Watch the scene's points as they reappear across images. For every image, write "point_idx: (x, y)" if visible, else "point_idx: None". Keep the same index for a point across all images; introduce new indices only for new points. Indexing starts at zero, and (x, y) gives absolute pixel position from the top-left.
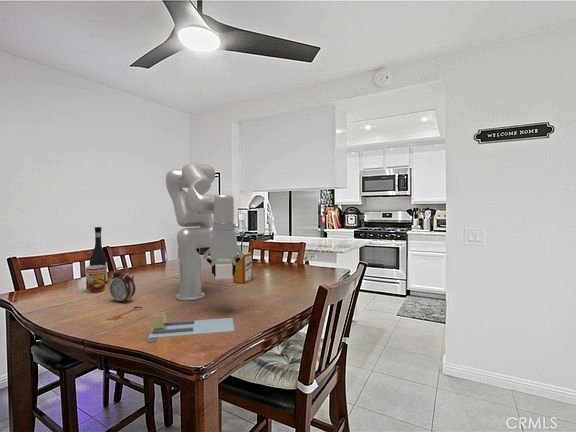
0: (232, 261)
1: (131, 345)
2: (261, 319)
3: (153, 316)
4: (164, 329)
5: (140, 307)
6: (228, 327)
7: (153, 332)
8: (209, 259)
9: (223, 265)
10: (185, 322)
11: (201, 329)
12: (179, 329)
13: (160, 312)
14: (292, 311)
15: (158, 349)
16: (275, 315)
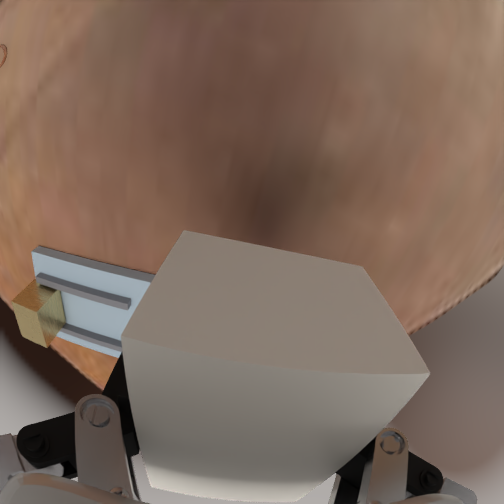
0: (333, 497)
1: None
2: None
3: (25, 333)
4: (65, 330)
5: (3, 47)
6: None
7: None
8: (62, 476)
9: (219, 498)
10: (103, 301)
11: None
12: (99, 344)
13: (27, 313)
14: (466, 277)
15: (82, 361)
16: (415, 291)
